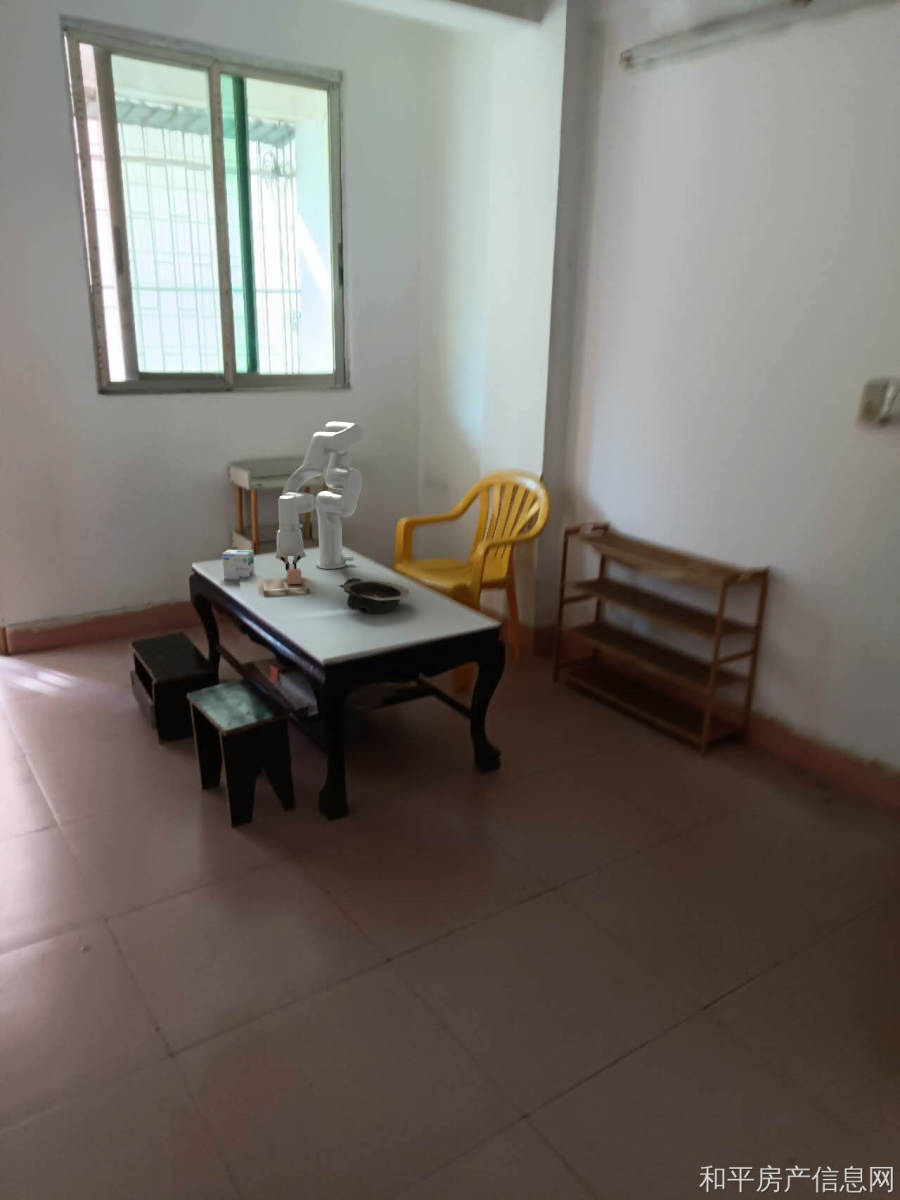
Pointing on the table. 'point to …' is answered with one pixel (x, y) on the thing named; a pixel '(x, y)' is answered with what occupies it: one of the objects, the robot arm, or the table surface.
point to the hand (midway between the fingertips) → (291, 572)
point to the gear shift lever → (293, 575)
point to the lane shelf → (283, 587)
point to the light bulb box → (238, 563)
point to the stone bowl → (373, 595)
